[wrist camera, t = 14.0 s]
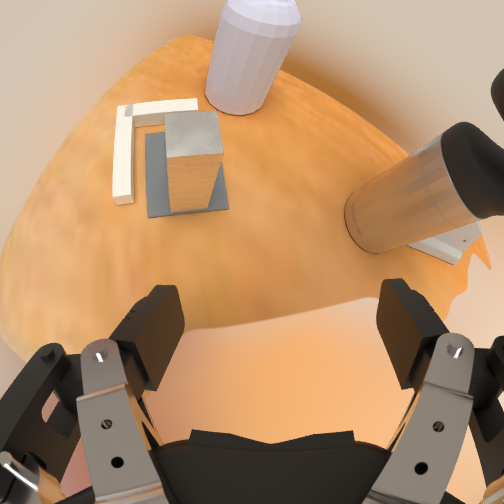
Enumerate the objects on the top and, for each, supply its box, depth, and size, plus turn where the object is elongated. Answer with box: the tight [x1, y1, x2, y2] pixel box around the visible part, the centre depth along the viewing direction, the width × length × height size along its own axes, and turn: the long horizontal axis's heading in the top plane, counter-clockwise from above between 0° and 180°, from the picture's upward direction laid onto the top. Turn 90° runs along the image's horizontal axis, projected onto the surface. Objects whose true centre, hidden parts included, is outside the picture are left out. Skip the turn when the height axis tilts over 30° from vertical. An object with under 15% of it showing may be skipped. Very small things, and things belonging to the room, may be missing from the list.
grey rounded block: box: [407, 221, 482, 265], centre depth 35 cm, size 17×5×10 cm, turn 78°
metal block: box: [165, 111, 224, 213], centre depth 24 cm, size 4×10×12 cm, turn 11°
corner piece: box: [113, 98, 198, 205], centre depth 29 cm, size 10×12×2 cm
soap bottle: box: [205, 0, 301, 115], centre depth 23 cm, size 9×9×24 cm
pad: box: [146, 132, 229, 218], centre depth 30 cm, size 9×11×1 cm
